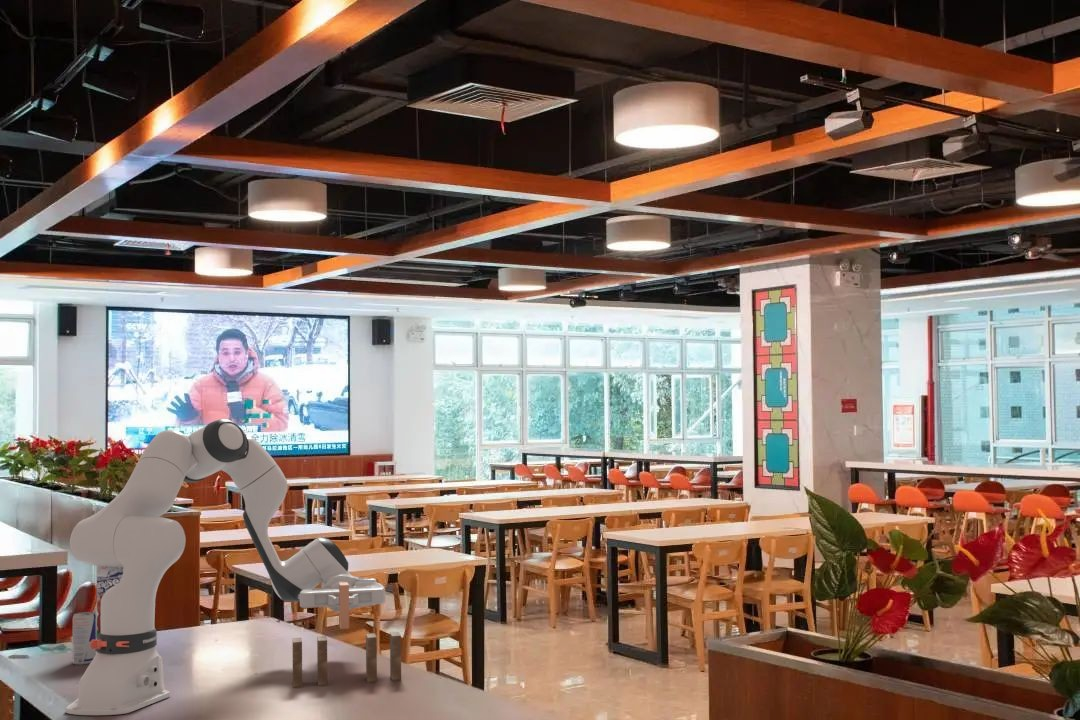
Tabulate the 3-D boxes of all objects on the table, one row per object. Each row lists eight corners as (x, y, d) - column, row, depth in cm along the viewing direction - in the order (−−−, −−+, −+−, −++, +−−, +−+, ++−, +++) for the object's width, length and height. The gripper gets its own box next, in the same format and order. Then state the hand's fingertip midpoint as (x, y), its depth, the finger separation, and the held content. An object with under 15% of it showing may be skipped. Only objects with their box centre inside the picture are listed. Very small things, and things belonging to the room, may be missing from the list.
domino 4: (368, 682, 253) (367, 637, 253) (366, 677, 257) (365, 633, 258) (377, 681, 253) (376, 637, 254) (375, 677, 258) (374, 633, 258)
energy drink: (99, 660, 281) (99, 611, 282) (88, 664, 276) (89, 615, 277) (79, 660, 282) (79, 611, 283) (68, 664, 277) (68, 615, 277)
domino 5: (392, 680, 254) (392, 636, 255) (390, 676, 259) (389, 632, 259) (401, 680, 255) (400, 635, 255) (399, 675, 259) (398, 631, 260)
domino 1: (293, 687, 249) (292, 642, 249) (292, 682, 254) (292, 638, 254) (302, 687, 249) (302, 641, 250) (301, 682, 254) (301, 637, 255)
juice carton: (123, 647, 297) (124, 544, 299) (145, 651, 291) (145, 546, 292) (92, 652, 290) (92, 547, 292) (113, 657, 284) (114, 550, 285)
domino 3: (340, 629, 260) (340, 585, 260) (339, 625, 264) (339, 582, 265) (349, 628, 260) (348, 584, 261) (347, 624, 265) (347, 582, 265)
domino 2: (318, 686, 250) (318, 640, 251) (317, 681, 255) (317, 636, 255) (327, 685, 251) (327, 640, 251) (326, 680, 255) (326, 636, 256)
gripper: (297, 581, 273) (298, 589, 259) (382, 578, 278) (387, 585, 264) (297, 608, 272) (298, 617, 259) (382, 603, 277) (387, 612, 264)
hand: (344, 601), depth 262 cm, fingers closed on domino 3, 2 cm apart
